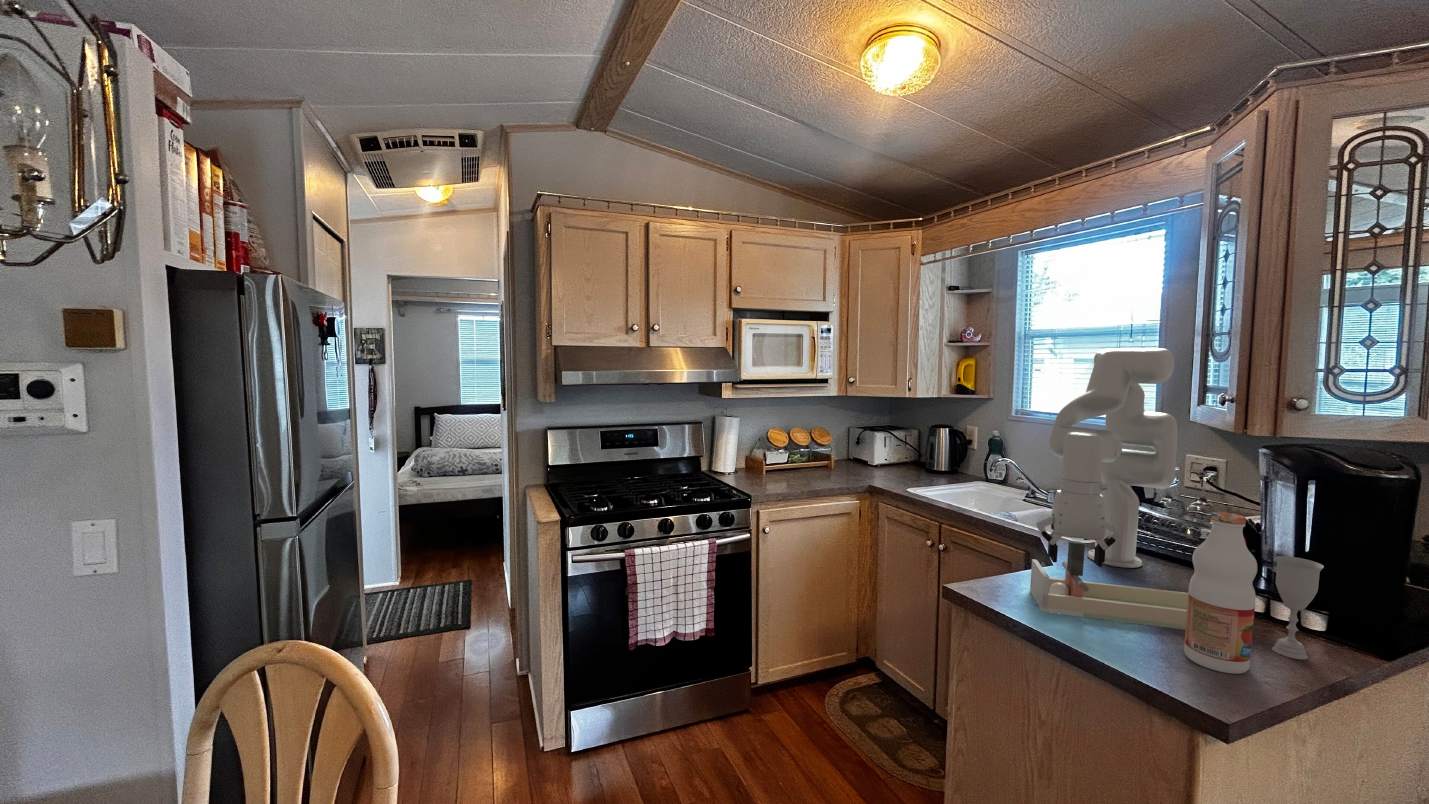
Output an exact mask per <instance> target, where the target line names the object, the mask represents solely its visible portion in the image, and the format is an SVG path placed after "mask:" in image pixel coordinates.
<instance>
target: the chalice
mask: <svg viewBox="0 0 1429 804" xmlns="http://www.w3.org/2000/svg"><path fill="white" fill-rule="evenodd" d="M1274 560H1275V563H1276V572H1275V573H1276V574H1275V575H1276V576H1275V585H1276V588H1277V591H1278V594H1279V596H1280V598H1281V600H1282V602H1283V605H1284V606H1285V607H1286V608H1288V609H1289V610H1290V614H1289V616H1288V617H1287V619H1288V621H1289V622H1288V625H1287V626H1286V627H1285V628H1286V629H1287V631H1288V635H1287V636H1285V637H1281V638H1279V639H1278V640H1277V641H1276V642H1275V645H1274V646H1273V647H1272V648H1271V649H1272V651H1274V652H1276V653H1277V654H1279V655H1281V654H1282V656H1284V657H1287V658H1291V659H1297V660H1308V659H1309V657H1308V655H1307V651H1306V650H1305V646H1304V645H1303V644H1302V643H1301V642H1299V641H1298V640H1297V639H1296V632H1298V631H1299V629H1298V628H1297V623H1298V622H1299V621H1300V620H1299V619H1298V615H1297V614H1298V612H1299V611H1304V610H1305V609H1306V608H1307V607H1308V606H1309V604H1310V603H1311V602H1312V601H1313V600H1314V598H1315V596H1316V595H1317V593H1318V592H1319V591H1318V590H1319V582H1320V572H1321V571H1322V570H1323V569H1324V567H1325V566H1324V565H1323V564H1322V563H1319V562H1316V561H1313V560H1310V559H1305V558H1301V557H1296V556H1295V557H1294V556H1287V555H1277V556H1275V557H1274Z"/></svg>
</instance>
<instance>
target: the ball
mask: <svg viewBox="0 0 1429 804" xmlns="http://www.w3.org/2000/svg"><path fill="white" fill-rule="evenodd" d="M1049 592H1050V594H1058V595H1067V596H1069V589H1068V587H1067V586H1066V585H1065V584H1063V583H1060V582H1055V583H1053V584H1052V585H1051V586H1050V588H1049Z"/></svg>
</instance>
